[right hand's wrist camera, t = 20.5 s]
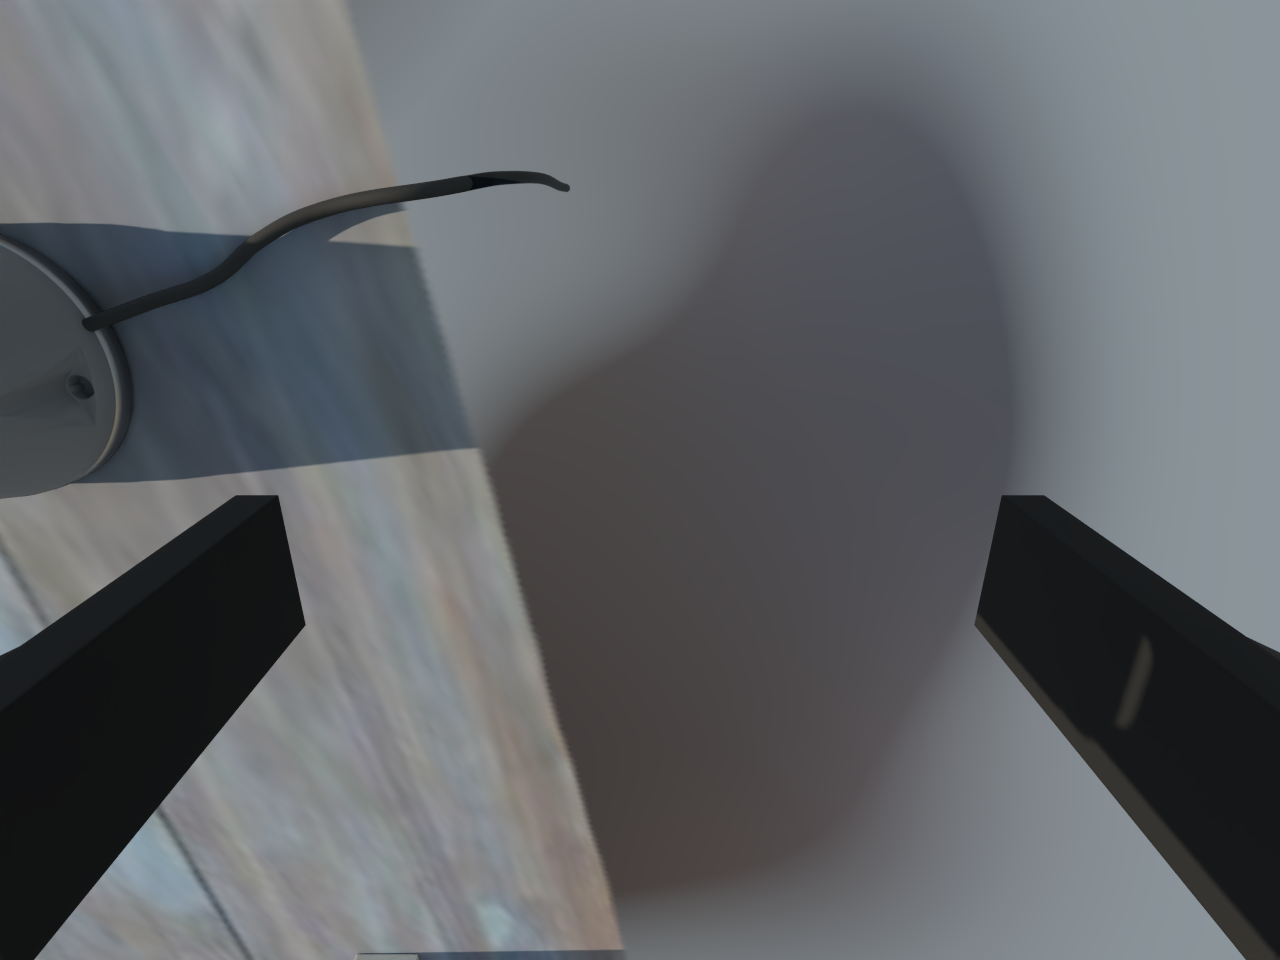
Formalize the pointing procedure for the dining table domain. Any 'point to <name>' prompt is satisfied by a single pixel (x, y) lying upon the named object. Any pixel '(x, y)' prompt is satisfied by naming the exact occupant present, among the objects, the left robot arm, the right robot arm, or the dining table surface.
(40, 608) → the dining table surface
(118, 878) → the dining table surface
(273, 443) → the dining table surface
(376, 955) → the block
